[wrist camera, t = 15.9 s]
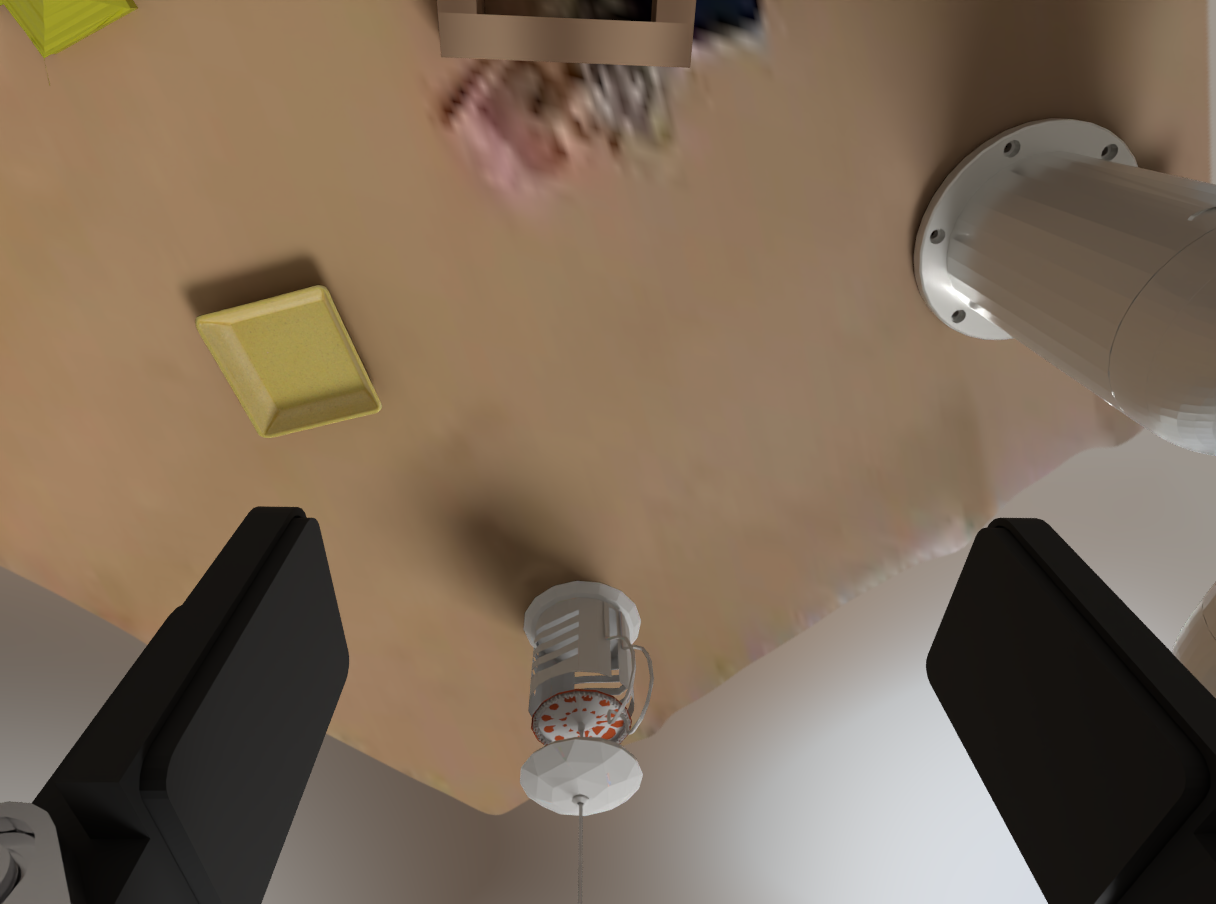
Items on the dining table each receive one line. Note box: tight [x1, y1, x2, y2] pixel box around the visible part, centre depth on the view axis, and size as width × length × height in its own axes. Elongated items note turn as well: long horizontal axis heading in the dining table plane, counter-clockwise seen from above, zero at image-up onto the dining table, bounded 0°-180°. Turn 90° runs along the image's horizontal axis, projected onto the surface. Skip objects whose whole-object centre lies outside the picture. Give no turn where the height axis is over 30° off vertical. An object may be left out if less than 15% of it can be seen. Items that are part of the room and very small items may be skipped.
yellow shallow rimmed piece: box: [195, 285, 382, 438], centre depth 43 cm, size 9×9×2 cm
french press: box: [520, 581, 654, 904], centre depth 45 cm, size 10×12×25 cm
